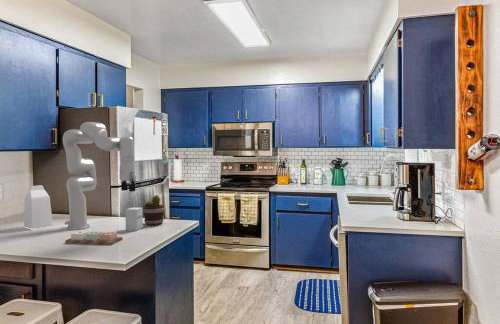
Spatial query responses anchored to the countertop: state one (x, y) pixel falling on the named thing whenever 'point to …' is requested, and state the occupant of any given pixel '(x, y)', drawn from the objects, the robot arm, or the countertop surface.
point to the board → (94, 241)
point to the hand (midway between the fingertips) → (128, 190)
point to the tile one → (79, 235)
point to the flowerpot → (153, 211)
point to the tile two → (93, 235)
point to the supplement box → (134, 219)
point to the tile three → (108, 236)
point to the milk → (37, 208)
